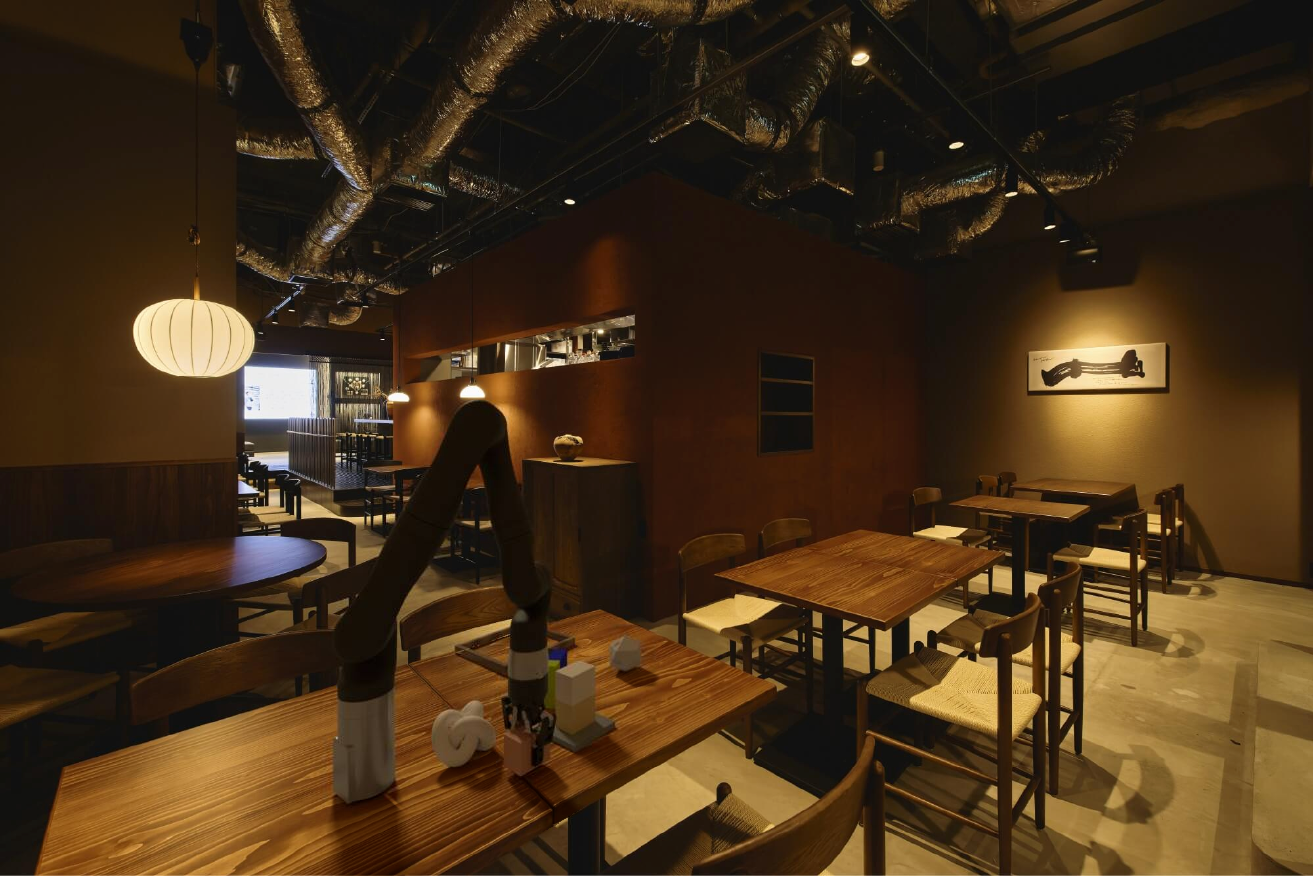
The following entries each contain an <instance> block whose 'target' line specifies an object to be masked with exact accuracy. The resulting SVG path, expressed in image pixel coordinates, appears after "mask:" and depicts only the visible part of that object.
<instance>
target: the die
mask: <svg viewBox="0 0 1313 876" xmlns="http://www.w3.org/2000/svg"><path fill="white" fill-rule="evenodd" d="M642 664H643V657H642V643H641V642H640V641H638V640H637V639H634V638H632V637H630V636H628V635H626V634H625V635H624V636H622V637H620V638H618V639H616V640H615V641H613V642H611V643H610V644H609V666H610V667H614V668H615V669H618V670H619V671H622V672H626V673H627V672H629V671H631V670H633V669H634V668H636V667H638V666H640V665H642Z"/></svg>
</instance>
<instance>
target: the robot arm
mask: <svg viewBox="0 0 1313 876" xmlns="http://www.w3.org/2000/svg"><path fill="white" fill-rule="evenodd" d="M447 427H448V428H447V430H446V431H445V434H444V436H443V439H442V441H441V442H440V443H441V444H440V446H439V448H438V450H437V452H436V454H435V456H434V458H433V460H432V461H431V464H430V465H429V467H428V468H427V470H426V471H425V473H424V474H423V475H422V477H421V479H420V481H419V482H418V484H417V485H416V487H415V489H414V490H413V492H412V493H411V495H410V497H409V499H408V500H407V501H406V503H405V505H404V506H403V508H402V510H401V512H400V514H399V515H398V517H397V518H396V521H395V523H394V524H393V526H392V528H391V529H390V532H389V534H388V535H387V537H386V540H385V542H384V543H383V546H382V547H381V550H380V552H379V555H378V556H377V559H376V561H375V563H374V565H373V568H372V571H371V572H370V574H369V576H368V578H367V579H366V582H365V583H364V585H363V586H362V588H361V590H359V592H358V593H357V595H356V597H355V598H354V600H353V601H352V602H351V604H350V605H349V606H348V608H347V609H346V611H345V612H344V613H343V614H342V616H341V617H340V618H339V619H338V621H337V622H336V623H335V625H334V628H333V632H332V635H331V636H332V637H331V639H332V640H331V643H332V647H333V650H334V652H335V654H336V656H337V657H338V658H339V659H340V660H341V662H342V663H341V667H340V673H339V677H338V680H337V686H336V687H337V688H336V689H337V690H336V691H337V694H336V695H337V736H335V737H334V738H332V784H333V785H332V786H333V787H332V791H333V793H335V794H336V795H338V797H340V799H341V800H342V801H344V802H345V803H346V804H347V805H349V804H351V803H353V802H357V801H361V800H366V799H369V798H373V797H376V796H377V795H380V794H382V793H383V792H384V791H386V790H388V788H390V787H391V786H392V784H393V783H394V782H395V779H396V736H395V735H396V730H395V728H396V727H395V726H396V725H395V724H396V723H395V722H396V721H395V720H396V719H395V717H396V716H395V715H396V713H395V711H396V709H395V707H396V706H395V704H396V703H395V702H396V701H395V700H396V699H395V698H396V697H395V696H396V692H395V690H396V689H395V688H396V687H395V682H396V681H395V677H396V669H397V663H398V662H397V661H398V616H399V613H400V611H401V609H402V607H403V605H404V602H405V601H406V599H407V597H408V596H409V593H410V592H411V590H412V589H413V588H414V586H415V585H416V584H417V583H418V581H419V580H420V578H421V576H422V575H423V574H424V573H425V571H426V570H427V569H428V567H429V565H430V564H431V563H432V561H433V560H434V558H435V557H436V555H438V552H439V551H440V550H441V547H442V546H443V544H444V542H445V540H446V539H447V537H448V535H449V534H450V531H451V529H452V528H453V526H454V524H455V522H456V520H457V517H458V515H459V512H460V509H461V506H462V503H463V500H464V496H465V494H466V490H467V486H468V484H469V481H470V480H471V478H472V475H473V473H474V471H475V470H476V468H477V467H478V468H479V470H480V474H481V478H482V480H483V481H482V482H483V487H484V492H485V493H484V494H485V500H486V505H487V506H486V508H487V512H488V518H489V521H490V525H491V528H492V532H493V536H494V539H495V541H496V544H497V548H498V551H499V565H500V574H501V575H500V577H501V582H502V587H503V590H504V593H505V595H506V597H507V599H508V600H509V601H510V602H511V603H512V604H513V605H515V606H516V610H515V613H514V615H513V617H512V618H511V620H510V623H509V624H510V625H509V627H510V634H509V648H508V649H509V651H508V656H507V658H508V659H507V663H508V675H507V695H504V696H503V697H501V698H500V700H501V703H500V704H501V710H502V718H503V723H504V724H503V725H504V729H505V730H509V731H511V730H513V729H517V727H519V726H521V725H525V726H526V731H527V734H528V735H530V738H531V744H532V747H531V765H532V766H533V767H536V766H538V765H539V766H541V765H542V764H541V763H542V762H543V759H544V746H546V745H547V744H550V745H551V744H552V742H553V741H552V740H553V734H554V729H555V724H556V718H557V716H556V712H553V713H549V712H548V711H547V708H546V707H545V703H544V699H545V697H546V695H547V693H548V666H549V656H548V648H547V647H548V637H547V631H548V630H547V629H548V618H549V612H550V607H551V601H552V595H553V594H552V592H553V576H552V573H551V571H550V569H549V567H548V566H547V564H545V563H543V562H541V561H537V560H535V558H534V553H533V549H534V547H535V545H536V537H535V533H534V529H533V525H532V523H531V520H530V516H529V514H528V509H527V507H526V504H525V502H524V501H525V500H524V499H523V496H522V492H521V489H520V487H519V486H520V485H519V482H518V480H517V477H516V473H515V468H514V466H513V460H512V454H511V450H510V449H511V448H510V440H509V433H508V431H509V430H508V422H507V418H506V416H505V415H504V412H502V410H500V409H499V408H498V407H497V406H496V405H494V404H493V403H491V402H489V401H487V400H484V399H472V400H469V401H467V402H465V403H463V404H462V405H460V406H459V407H458V409H456V411H455V412H454V414H453V416H452V417H451V421H450V423H449V425H448V426H447ZM510 715H511V719H510ZM538 723H539V724H538ZM536 724H538V726H537V727H535V728H532V726H534V725H536ZM537 732H538V733H539V738H538V739H537V738H536V733H537ZM546 736H547V737H546ZM540 764H541V765H540ZM539 766H538V767H539ZM536 768H537V767H536Z"/></svg>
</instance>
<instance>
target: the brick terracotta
mask: <svg viewBox="0 0 1313 876" xmlns="http://www.w3.org/2000/svg"><path fill="white" fill-rule="evenodd" d="M538 724H539V723H538ZM538 724H536V725H534V726H532V728H535V727H537V726H538ZM503 735H504V736H503V767H504V768H506V769H508V770H509V771H511V772H513V773H514V774H516V775H517V776H519V777H523V776H524V775H526V774H527V773H529V772H531V771H532V770H534V769H535V768H537V767H540V766H541V765H543V764H545V763H547V761H549V760H551V743H550V744H547V745H546V746H544V759H543V762H542V763H541V764H540V765H538V766H536V767H533V766H532V765H531V747H532V744H531V738H530V735H528V734H527V731H526V726H525V725H521V726H519V727H517V729H513V730H511V731H510V730H509V731H507V732H506V733H504V734H503ZM546 737H547V736H546ZM536 738H537V739H538V738H539V733H538V732H537V733H536Z"/></svg>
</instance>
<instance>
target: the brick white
mask: <svg viewBox="0 0 1313 876" xmlns="http://www.w3.org/2000/svg"><path fill="white" fill-rule="evenodd" d="M555 676H556V700H559V701H561V702H563V703H565V704H568V705H570V706H573V705H575V704H577V703H579V702H581V701H582V700H584V699H586V698H588V697H590V696H592V695H594V694H595V695H596V665H593V664H590V663H587V662H585V661H582V660H576V661H575V662H573V663H571V664H567V666H566V667H564V668H561V669H559V670H557V671H555Z"/></svg>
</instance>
